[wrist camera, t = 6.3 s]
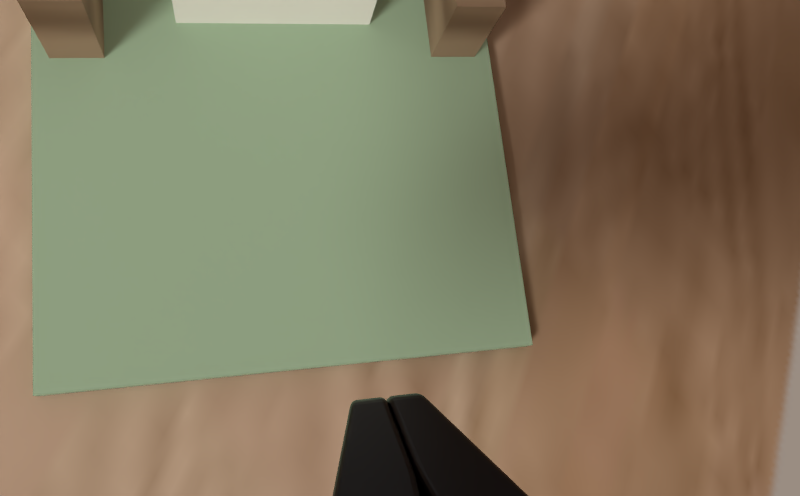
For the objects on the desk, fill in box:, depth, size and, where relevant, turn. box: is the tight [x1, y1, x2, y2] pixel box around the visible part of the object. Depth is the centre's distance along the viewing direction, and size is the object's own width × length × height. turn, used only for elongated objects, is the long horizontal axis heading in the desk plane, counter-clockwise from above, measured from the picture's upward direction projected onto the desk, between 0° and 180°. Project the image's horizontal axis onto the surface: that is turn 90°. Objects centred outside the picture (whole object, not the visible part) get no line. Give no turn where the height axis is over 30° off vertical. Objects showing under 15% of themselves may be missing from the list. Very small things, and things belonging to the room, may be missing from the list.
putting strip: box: [31, 0, 533, 396], centre depth 23 cm, size 23×14×1 cm, turn 6°
